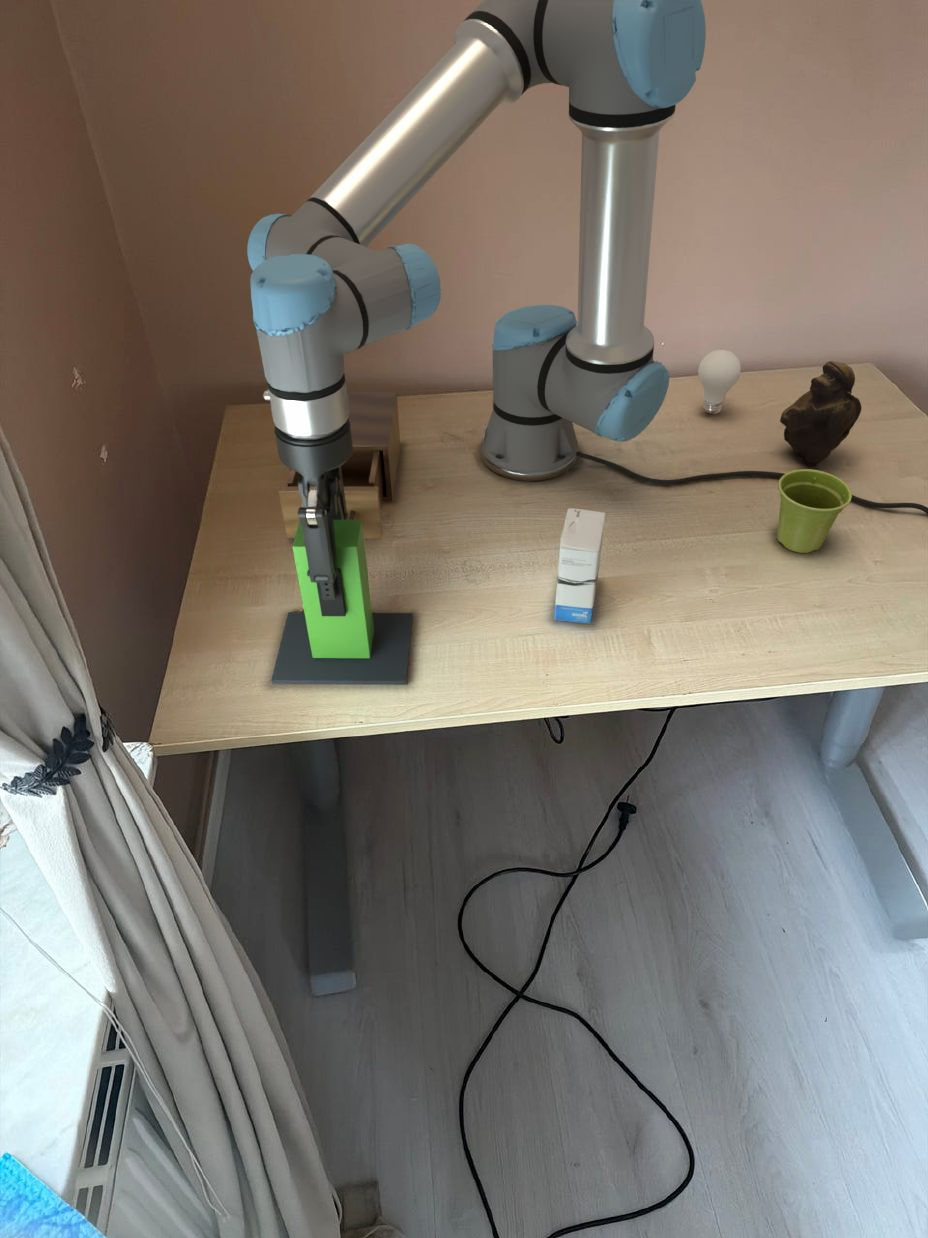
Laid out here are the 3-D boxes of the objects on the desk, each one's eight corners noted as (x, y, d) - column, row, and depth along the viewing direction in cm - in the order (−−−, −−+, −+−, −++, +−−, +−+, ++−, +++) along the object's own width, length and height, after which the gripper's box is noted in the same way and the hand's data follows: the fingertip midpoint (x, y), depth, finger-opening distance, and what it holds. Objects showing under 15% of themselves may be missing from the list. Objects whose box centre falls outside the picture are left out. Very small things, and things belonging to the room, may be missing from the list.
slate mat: (413, 616, 115) (412, 612, 114) (406, 684, 106) (406, 681, 105) (288, 615, 115) (288, 612, 115) (272, 683, 106) (271, 680, 106)
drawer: (378, 559, 122) (374, 512, 117) (280, 558, 122) (271, 512, 117) (390, 479, 136) (386, 434, 131) (302, 479, 136) (295, 434, 131)
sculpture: (752, 432, 139) (812, 344, 133) (795, 450, 145) (854, 367, 139) (794, 465, 132) (859, 373, 125) (838, 483, 138) (902, 396, 131)
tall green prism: (374, 630, 112) (361, 519, 100) (370, 658, 108) (356, 546, 96) (318, 629, 112) (299, 519, 100) (312, 658, 108) (292, 546, 97)
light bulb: (735, 423, 148) (748, 361, 141) (694, 423, 148) (706, 361, 141) (726, 402, 153) (739, 342, 146) (687, 403, 153) (698, 342, 146)
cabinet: (392, 501, 133) (387, 445, 127) (295, 501, 134) (285, 445, 127) (400, 445, 145) (396, 391, 138) (310, 445, 145) (302, 391, 139)
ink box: (591, 625, 113) (600, 552, 105) (552, 620, 114) (558, 547, 106) (598, 582, 119) (606, 510, 111) (560, 578, 120) (566, 505, 112)
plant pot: (835, 527, 127) (853, 475, 121) (833, 567, 121) (851, 515, 115) (768, 515, 129) (781, 464, 124) (761, 553, 123) (775, 501, 117)
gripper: (289, 378, 96) (316, 549, 111) (256, 471, 82) (292, 651, 98) (359, 378, 96) (376, 550, 111) (337, 471, 82) (360, 652, 98)
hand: (337, 597), depth 105 cm, fingers closed on tall green prism, 5 cm apart
